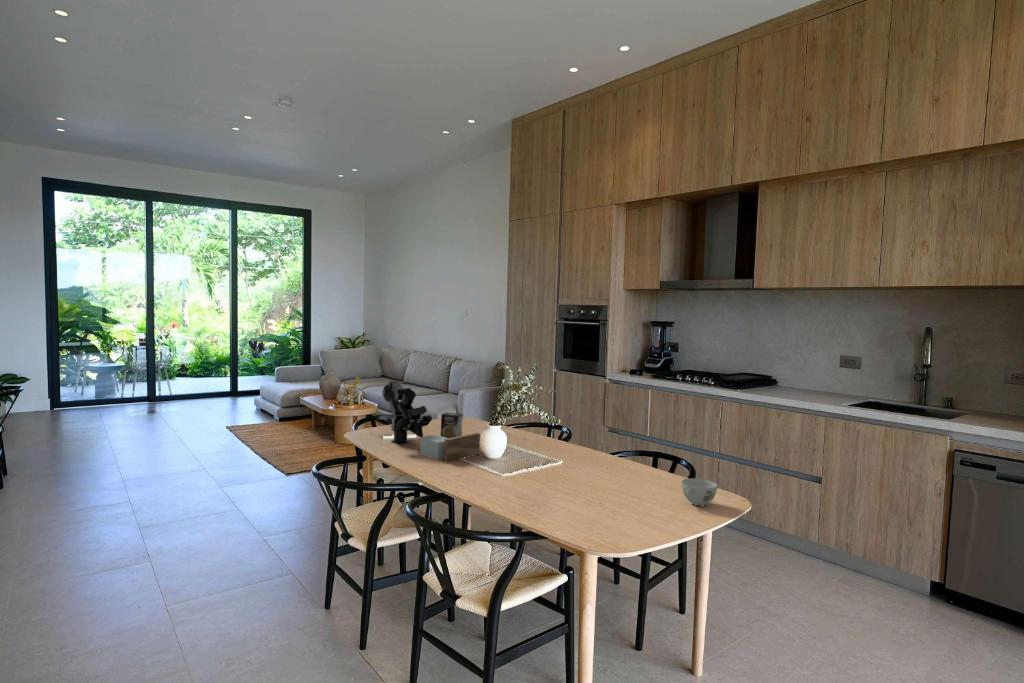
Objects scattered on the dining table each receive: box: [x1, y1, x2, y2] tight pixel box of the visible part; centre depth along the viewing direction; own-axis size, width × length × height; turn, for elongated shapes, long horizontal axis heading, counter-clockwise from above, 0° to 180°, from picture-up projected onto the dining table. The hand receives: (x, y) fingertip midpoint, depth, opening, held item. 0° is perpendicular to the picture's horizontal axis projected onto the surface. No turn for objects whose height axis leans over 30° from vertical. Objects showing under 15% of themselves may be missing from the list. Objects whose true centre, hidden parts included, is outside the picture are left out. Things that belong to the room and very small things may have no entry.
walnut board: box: [443, 432, 481, 463], centre depth 256 cm, size 2×20×10 cm, turn 139°
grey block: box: [419, 434, 448, 460], centre depth 259 cm, size 13×9×8 cm
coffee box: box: [440, 411, 464, 438], centre depth 278 cm, size 9×6×16 cm
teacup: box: [681, 477, 718, 506], centre depth 205 cm, size 15×12×8 cm
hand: (422, 437), depth 266 cm, fingers closed
